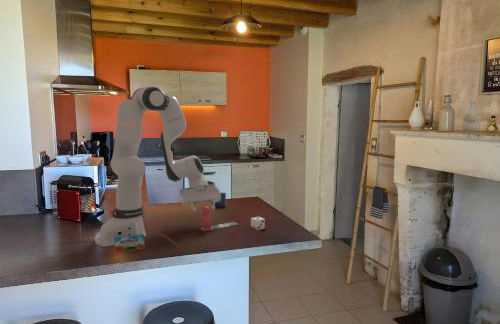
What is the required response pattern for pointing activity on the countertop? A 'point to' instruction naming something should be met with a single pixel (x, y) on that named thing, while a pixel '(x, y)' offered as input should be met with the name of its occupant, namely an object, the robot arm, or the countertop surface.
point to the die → (258, 223)
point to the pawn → (206, 218)
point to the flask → (221, 200)
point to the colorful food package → (129, 242)
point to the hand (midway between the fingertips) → (204, 209)
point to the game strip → (221, 225)
